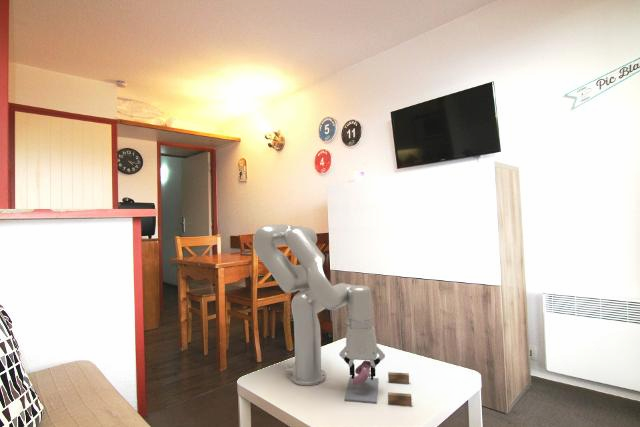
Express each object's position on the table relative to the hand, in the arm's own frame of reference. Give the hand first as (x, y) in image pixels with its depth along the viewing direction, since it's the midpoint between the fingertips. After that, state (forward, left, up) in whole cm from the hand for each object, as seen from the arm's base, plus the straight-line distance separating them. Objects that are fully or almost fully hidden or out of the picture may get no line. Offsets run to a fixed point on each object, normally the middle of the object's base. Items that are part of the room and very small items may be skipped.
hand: (362, 377), depth 114 cm
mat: (0, 0, -4) cm, 4 cm away
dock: (+12, 0, -4) cm, 13 cm away
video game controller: (0, 0, -1) cm, 1 cm away
